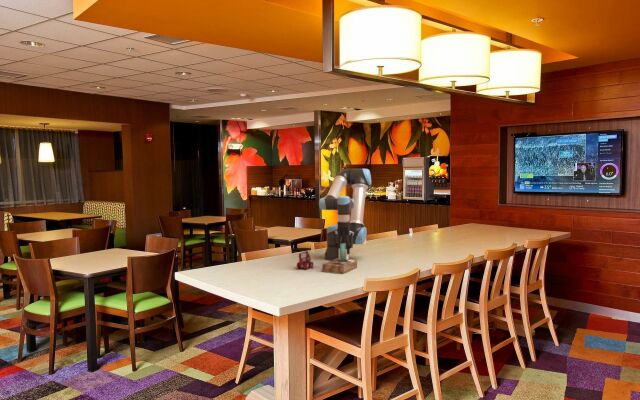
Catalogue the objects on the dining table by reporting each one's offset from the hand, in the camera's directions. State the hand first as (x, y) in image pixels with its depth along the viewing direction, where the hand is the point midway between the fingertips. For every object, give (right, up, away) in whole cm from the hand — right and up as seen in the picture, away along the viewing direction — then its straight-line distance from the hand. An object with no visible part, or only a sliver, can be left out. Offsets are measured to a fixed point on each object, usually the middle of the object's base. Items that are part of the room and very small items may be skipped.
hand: (343, 259), depth 296 cm
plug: (0, -4, 0) cm, 4 cm away
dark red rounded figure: (-24, -6, 0) cm, 24 cm away
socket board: (-2, -6, -4) cm, 8 cm away
